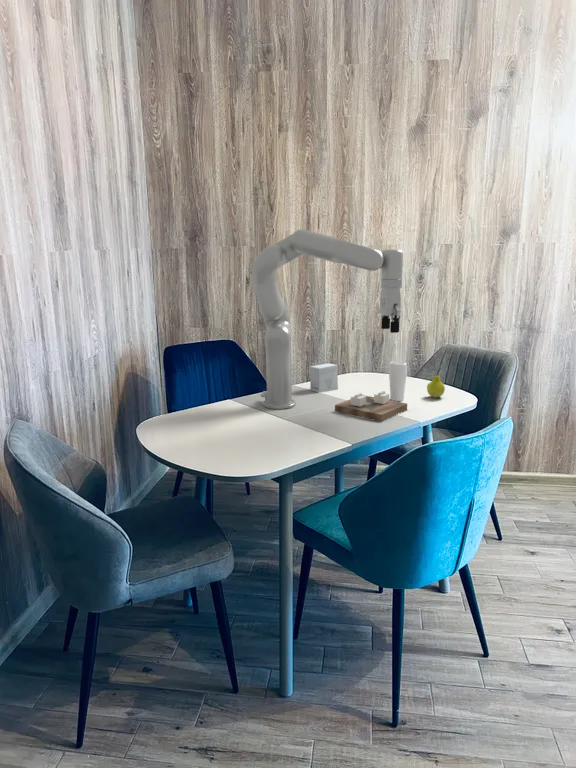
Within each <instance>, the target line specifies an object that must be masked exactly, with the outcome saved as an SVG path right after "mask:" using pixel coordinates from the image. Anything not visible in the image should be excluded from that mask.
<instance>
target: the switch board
mask: <svg viewBox="0 0 576 768" xmlns="http://www.w3.org/2000/svg"><path fill="white" fill-rule="evenodd" d="M362 396H366V404H365V405H363V406H360V407H359V406H354V405H351V398H349V399H347V400H345V401H342V402H340V403H337V404H334V412H336V413H338V414H339V413H340V414H345V415H350V416H354V417H359V418H362V417H363V419H367V418H368V420H372V419H374V420H373V421H376V420H378V421H377V422H381V421H382V422H384V421H386V420H388V418H389V419H390V417H391V418H393V417H395V416H397V415H399V414H398V413H400V414H401V412H402V413H403V411H404V412H405V410H406V411H408V403H407V402H402V401H392V400H391V399H389V402H387V403H385V404H380V403H375V402H374V397H373V396H368V395H365V394H364V395H363V394H362ZM396 414H397V415H396ZM394 415H395V416H394ZM392 416H393V417H392Z"/></svg>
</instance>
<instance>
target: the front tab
mask: <svg viewBox="0 0 576 768" xmlns="http://www.w3.org/2000/svg"><path fill="white" fill-rule="evenodd" d="M362 395H363V393H358V394H355V395H352V396H350V399H351V405H354V406H359V407H360V406H363V405H365V404H366V396H367V395H364V396H362Z"/></svg>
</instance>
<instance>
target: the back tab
mask: <svg viewBox="0 0 576 768" xmlns="http://www.w3.org/2000/svg"><path fill="white" fill-rule="evenodd" d="M373 396H374V402H375V403H380V404H385V403H387V402H389V400H390V393H386V391H385V390H383V391H380V392H377V393H375V394H374V395H373Z"/></svg>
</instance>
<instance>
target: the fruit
mask: <svg viewBox="0 0 576 768" xmlns="http://www.w3.org/2000/svg"><path fill="white" fill-rule="evenodd" d="M441 370H442V368H440V369H438V370H437V373H436V375H434V376H433V378H432V380H431V381H430V382H429V383H428V384H427V385H426V390H427V391H426V392H427V393H428V395H429V396H431V397H432V398H436V399H437V398H440V397H442V395H444V393H445V391H446V390H445V389H446V387H445V385H444V383H443V381H441V377H440V376H439V375H438V374H439V372H440V371H441Z"/></svg>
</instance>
